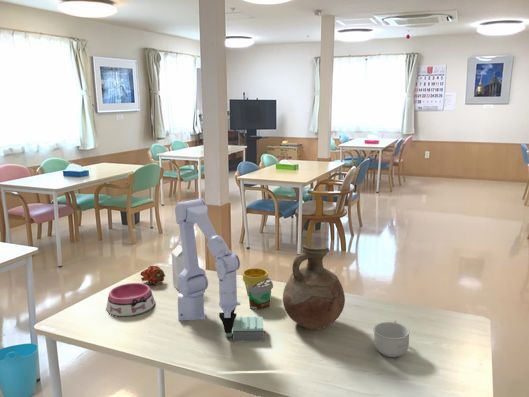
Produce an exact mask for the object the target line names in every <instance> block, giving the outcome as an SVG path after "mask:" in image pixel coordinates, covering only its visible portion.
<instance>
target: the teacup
mask: <svg viewBox="0 0 529 397" xmlns="http://www.w3.org/2000/svg"><path fill="white" fill-rule="evenodd" d="M410 333H411V332H410V328H408V327H407V326H406V325H404V324H402V323H399V322H398V323H397V320H395V319H391V321H384V322H380V323H378V324H376V325H375V326H374V327H373V338H374V346H375V348H376V350H377V351H378V352H379V353H380V354H382V355H383V356H386V357H389V358H399V357H401V356H402V355H405V353H406V352H408V349H409V344H410Z"/></svg>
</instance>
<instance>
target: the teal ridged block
mask: <svg viewBox="0 0 529 397" xmlns="http://www.w3.org/2000/svg"><path fill="white" fill-rule="evenodd" d="M233 331H263V332H264V320H263V316H245V317H244V316H239V317H237V316H236V318H235V320H234V323H233V328H232V333H225V337H226V338H227V337H232V338H233Z"/></svg>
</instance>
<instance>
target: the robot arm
mask: <svg viewBox="0 0 529 397" xmlns="http://www.w3.org/2000/svg"><path fill="white" fill-rule="evenodd" d="M208 211H209V206H208V205H207V203H206V201H205V200H204V198H198V199H192V200H187V201H186V200H185V201H179V202H177V203H176V205H175V207H174V214H175V222H176V225H178V228H179V235H180V236H179V237H180V243H181V245H182V252H183V260H184V270H183V271H182V272H181V273H180V274H179V283H178V288H179V290H178V291H179V293H178V296H177V316H178V319H177V320H178V322H179V321H180V322H182V321H188V320H189V321H190V320H192V321H193V320H205V317H206V313H207V312H206V311H207V310H206V309H205V302H204V301H205V300H204V299H205V298H204V296H205V295H204V293H206V290H207V289H208V287H209V280H208V279H209V278H208V277H207V275H206V270H205V269H203V268H202V267H200V265H199V258H198V251H197V250H198V249H197V241H196V234H195V224H196V226H198V228H199V229H200V231H201V232H202V234H203V236H205V238H206V240H207V243H206V246H207V248H208V250H209V252H210V254H211V255H212V257H213V259H214V261H215V263H214V267H215V270H216V273H217V274H216V275H217V278H218V288H219V291H218V292H219V293H218V294H219V303H218V305H219V308H220V309H221V310H222V312H219V313H218V316H219V319H220V320H221V323H222V325H223V326H222V327H223V329H224V330H223V331H224V333H225V334H226V333H232V334H233V323H234V320H235V318H236V317H237V312H236V313H235V310H236V308H237V306H240V305H241V300H238V295H237V292H238V291H237V290H238V289H237V288H238V287H237V285H238V284H237V271H238V270H239V269H240V267H241V261H240V258H239V257H238V255H237V254H236V253H234V252H233V251H232V250H230V248H229V247H228V245H227V244H226V241H225V240H224V238H223V237H222V235H218V234H217V232H216V230H215V228H214V226H213V224H212V222H211V220H210V218H209V216H208V215H209V212H208Z"/></svg>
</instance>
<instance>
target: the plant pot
mask: <svg viewBox="0 0 529 397" xmlns="http://www.w3.org/2000/svg"><path fill="white" fill-rule="evenodd" d="M266 277H268V278H269V272H268V271H267V270H266V269H265V268H259V267H251V268H247V269H245V270H243V272H242V281H243V283H244V285H245V291H246V294H247V296H248V297H249V292H247V290H248V286H250V287H252V286H254V285H255V284H257V283H258V282H262V281H264V280H266Z"/></svg>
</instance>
